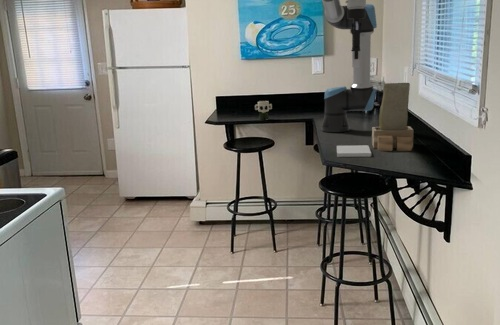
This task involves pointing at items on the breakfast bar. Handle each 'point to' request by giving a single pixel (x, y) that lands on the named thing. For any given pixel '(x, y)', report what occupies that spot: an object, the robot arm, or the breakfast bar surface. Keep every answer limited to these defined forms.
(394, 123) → the stone slab
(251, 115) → the breakfast bar surface
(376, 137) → the rack
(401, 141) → the offcut block
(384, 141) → the offcut block
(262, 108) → the big eared figurine
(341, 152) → the felt pad
